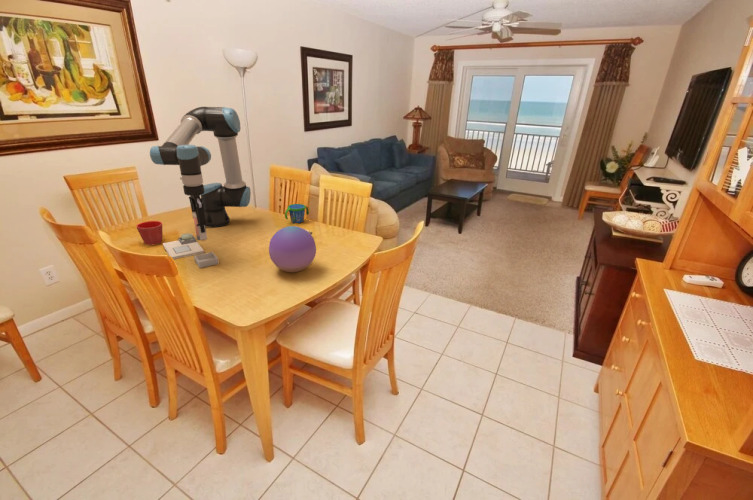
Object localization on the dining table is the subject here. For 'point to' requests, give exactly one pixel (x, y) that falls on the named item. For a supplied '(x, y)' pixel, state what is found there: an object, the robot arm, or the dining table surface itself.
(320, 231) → the dining table surface
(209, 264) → the tray
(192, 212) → the tumbler
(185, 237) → the button
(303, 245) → the ball
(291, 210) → the snack cup
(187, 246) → the board
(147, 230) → the flower pot
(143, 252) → the dining table surface
